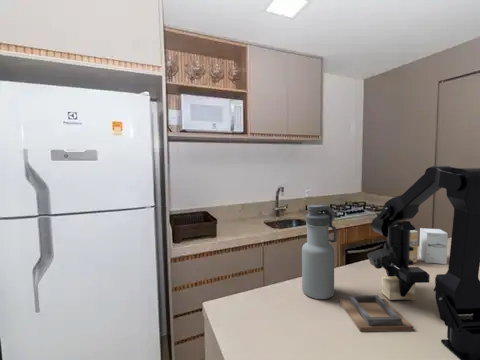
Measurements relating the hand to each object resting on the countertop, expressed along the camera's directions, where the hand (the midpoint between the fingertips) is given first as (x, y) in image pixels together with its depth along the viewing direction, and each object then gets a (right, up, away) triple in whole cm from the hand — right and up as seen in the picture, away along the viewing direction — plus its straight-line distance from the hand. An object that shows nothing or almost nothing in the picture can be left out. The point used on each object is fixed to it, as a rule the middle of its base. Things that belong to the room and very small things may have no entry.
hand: (397, 292), depth 79 cm
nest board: (-12, -2, -9) cm, 15 cm away
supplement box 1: (+19, 0, +27) cm, 33 cm away
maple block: (0, -1, 0) cm, 1 cm away
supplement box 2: (+31, +1, +28) cm, 42 cm away
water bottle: (-23, -2, +4) cm, 23 cm away
